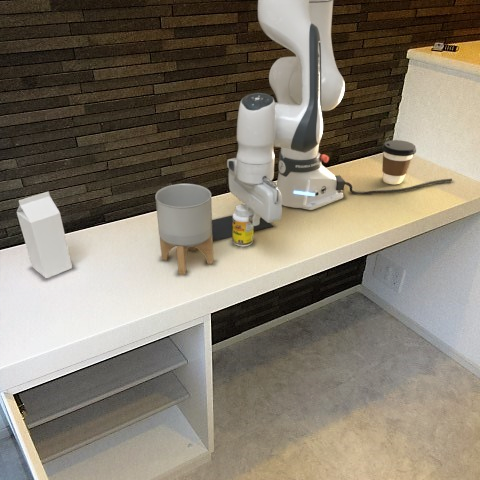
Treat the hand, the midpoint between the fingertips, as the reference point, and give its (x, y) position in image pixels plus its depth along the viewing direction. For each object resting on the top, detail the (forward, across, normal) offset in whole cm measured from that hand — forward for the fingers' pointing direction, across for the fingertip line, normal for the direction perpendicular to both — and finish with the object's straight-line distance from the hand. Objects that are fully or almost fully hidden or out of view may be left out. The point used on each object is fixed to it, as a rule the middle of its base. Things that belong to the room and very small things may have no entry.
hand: (253, 223), depth 126 cm
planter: (+8, +4, +17) cm, 19 cm away
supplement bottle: (+8, +5, 0) cm, 10 cm away
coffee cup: (+8, +19, -65) cm, 68 cm away
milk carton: (+8, +16, +48) cm, 51 cm away
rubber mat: (+8, +15, -2) cm, 17 cm away
